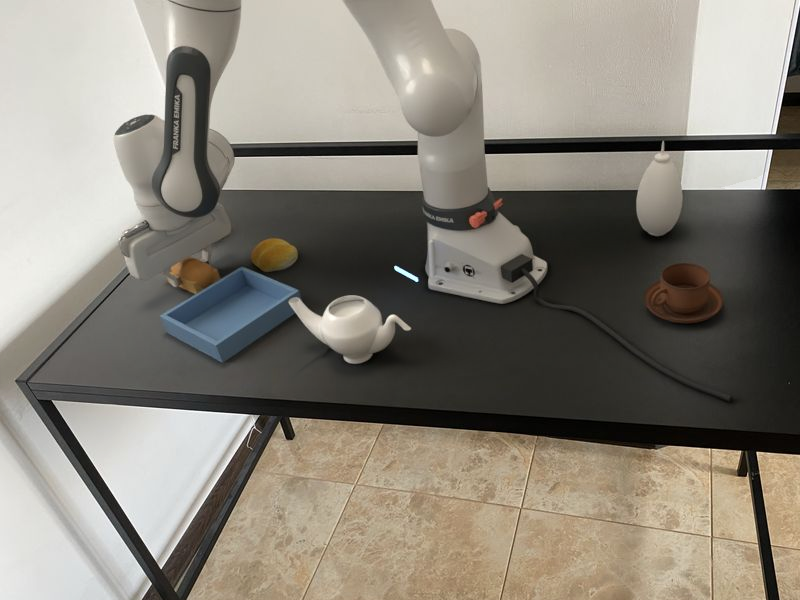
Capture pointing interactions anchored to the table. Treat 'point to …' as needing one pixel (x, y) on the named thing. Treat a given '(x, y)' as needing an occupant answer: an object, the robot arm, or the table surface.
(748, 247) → the table surface
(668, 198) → the white air blower bulb
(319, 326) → the teapot
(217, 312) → the tray
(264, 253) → the bread roll
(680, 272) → the cup and saucer
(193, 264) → the loaf
